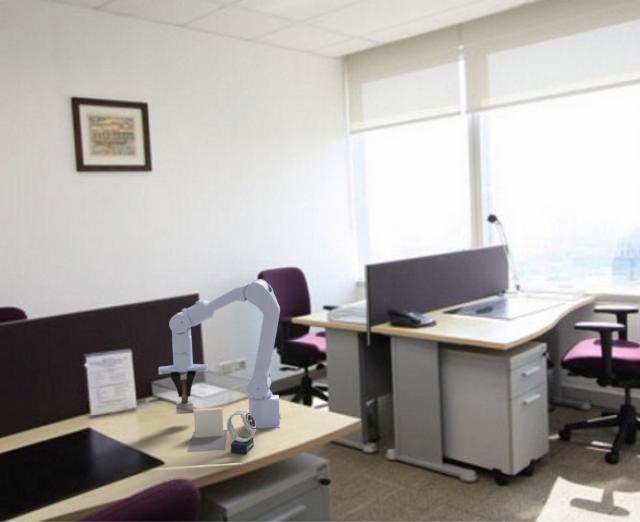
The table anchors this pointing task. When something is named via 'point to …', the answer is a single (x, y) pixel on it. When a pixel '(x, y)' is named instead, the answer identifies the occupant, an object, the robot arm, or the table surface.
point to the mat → (207, 443)
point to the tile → (208, 422)
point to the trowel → (184, 400)
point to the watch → (241, 443)
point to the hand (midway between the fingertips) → (184, 395)
